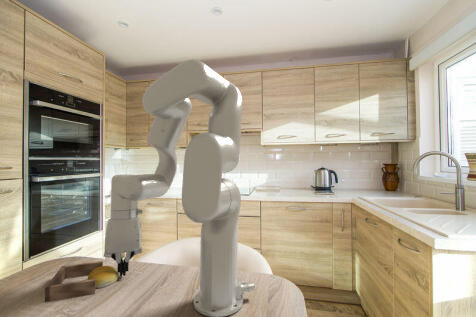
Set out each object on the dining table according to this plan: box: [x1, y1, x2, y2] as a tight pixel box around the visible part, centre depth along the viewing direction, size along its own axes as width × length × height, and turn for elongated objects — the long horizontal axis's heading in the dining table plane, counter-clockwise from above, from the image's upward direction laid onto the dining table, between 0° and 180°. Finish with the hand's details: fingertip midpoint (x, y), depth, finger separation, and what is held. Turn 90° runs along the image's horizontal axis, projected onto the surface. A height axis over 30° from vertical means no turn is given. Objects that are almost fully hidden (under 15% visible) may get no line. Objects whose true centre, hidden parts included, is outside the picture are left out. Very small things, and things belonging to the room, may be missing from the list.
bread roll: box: [86, 265, 120, 289], centre depth 71 cm, size 8×9×4 cm
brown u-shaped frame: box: [44, 260, 104, 303], centre depth 69 cm, size 11×14×4 cm
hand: (122, 274), depth 73 cm, fingers closed
